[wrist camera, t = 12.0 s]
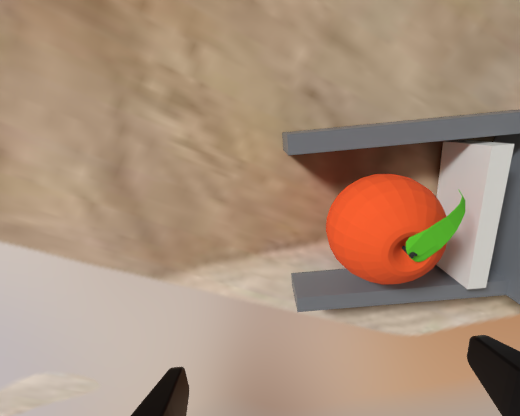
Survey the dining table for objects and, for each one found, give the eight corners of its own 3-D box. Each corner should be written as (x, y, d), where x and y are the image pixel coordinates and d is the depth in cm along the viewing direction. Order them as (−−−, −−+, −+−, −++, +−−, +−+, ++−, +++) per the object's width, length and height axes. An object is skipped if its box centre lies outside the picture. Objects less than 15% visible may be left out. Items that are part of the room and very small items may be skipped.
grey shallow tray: (516, 109, 18) (595, 105, 14) (486, 269, 22) (540, 304, 18) (282, 132, 18) (289, 135, 14) (292, 286, 22) (300, 324, 18)
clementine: (390, 135, 18) (469, 143, 12) (435, 208, 20) (526, 253, 13) (297, 204, 20) (319, 246, 13) (347, 266, 22) (389, 333, 15)
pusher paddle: (460, 139, 18) (514, 143, 14) (444, 258, 21) (485, 287, 17) (443, 141, 18) (491, 145, 14) (429, 259, 21) (467, 289, 17)
